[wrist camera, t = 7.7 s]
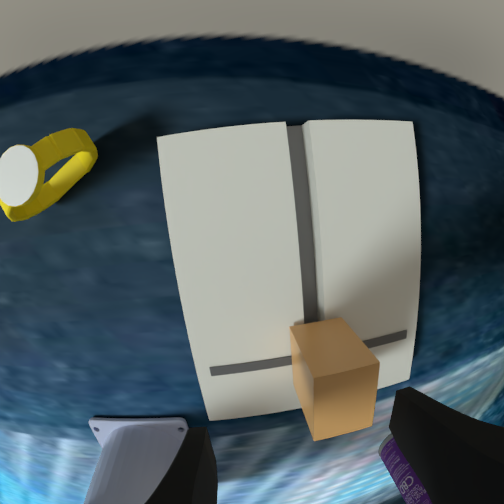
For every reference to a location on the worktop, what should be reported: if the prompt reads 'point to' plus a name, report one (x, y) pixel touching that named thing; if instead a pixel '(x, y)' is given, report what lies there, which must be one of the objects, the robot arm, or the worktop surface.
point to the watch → (43, 172)
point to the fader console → (291, 249)
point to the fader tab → (333, 377)
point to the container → (402, 473)
